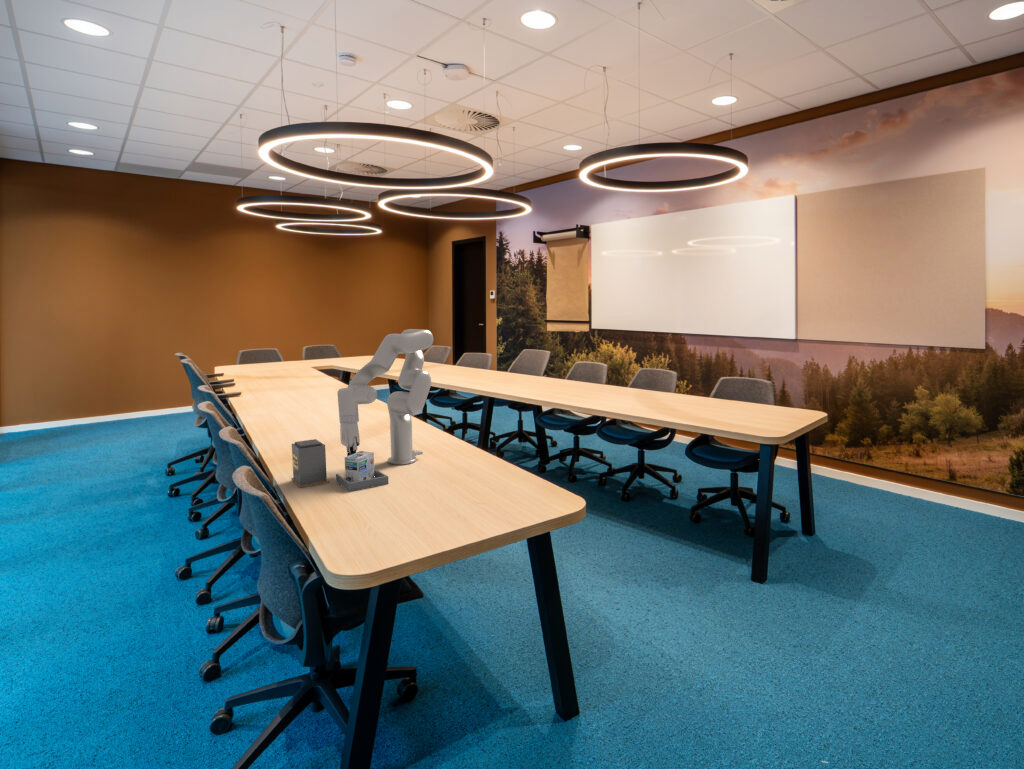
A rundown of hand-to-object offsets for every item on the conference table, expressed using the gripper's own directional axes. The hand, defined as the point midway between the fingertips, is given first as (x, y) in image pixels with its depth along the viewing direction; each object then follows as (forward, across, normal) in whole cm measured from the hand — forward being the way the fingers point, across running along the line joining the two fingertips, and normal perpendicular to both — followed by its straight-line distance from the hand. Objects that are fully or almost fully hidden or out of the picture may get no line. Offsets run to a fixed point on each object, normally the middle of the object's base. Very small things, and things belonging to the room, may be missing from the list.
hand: (352, 461), depth 221 cm
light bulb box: (+6, +10, -1) cm, 11 cm away
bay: (+5, +12, -1) cm, 13 cm away
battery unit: (+5, -1, -17) cm, 18 cm away
